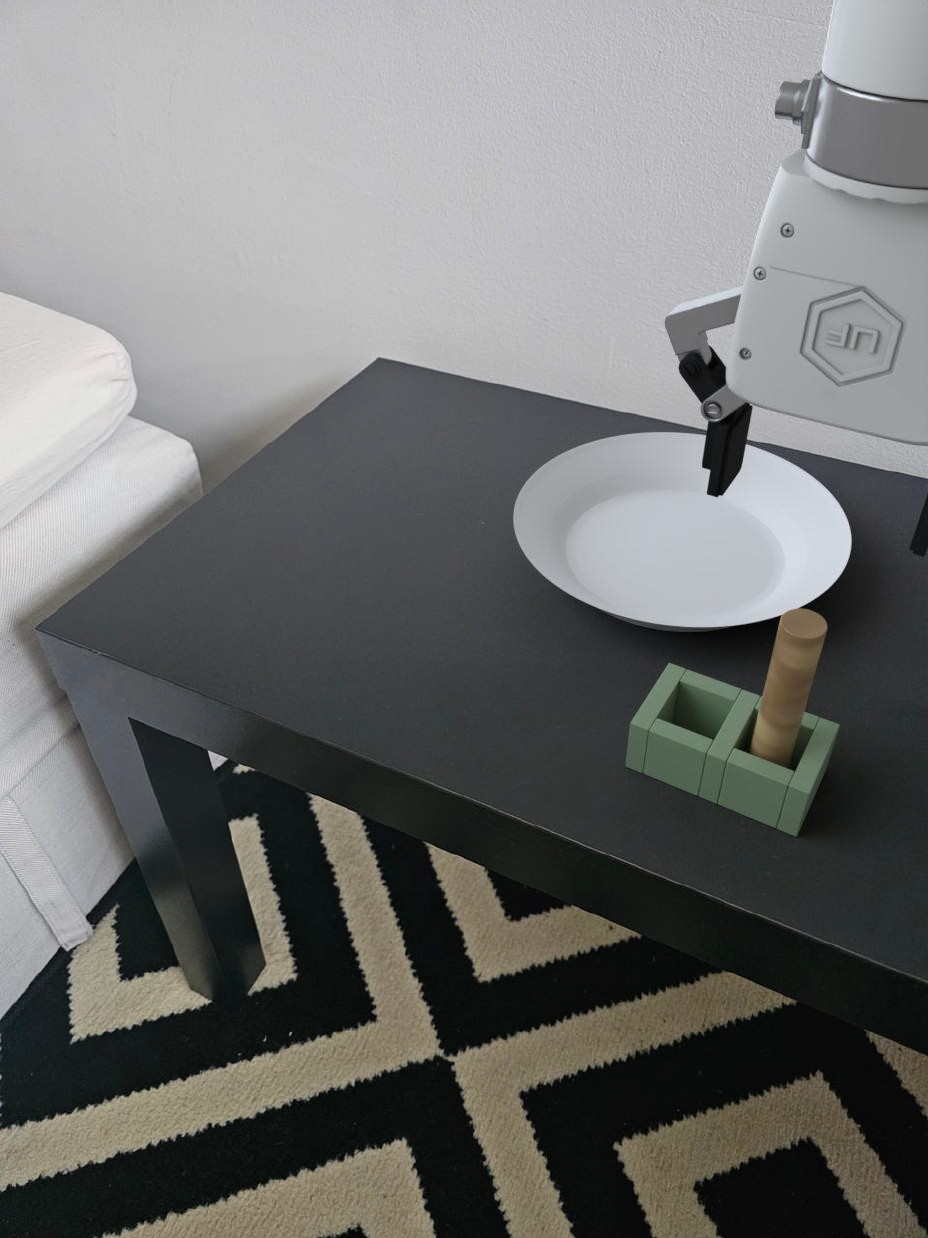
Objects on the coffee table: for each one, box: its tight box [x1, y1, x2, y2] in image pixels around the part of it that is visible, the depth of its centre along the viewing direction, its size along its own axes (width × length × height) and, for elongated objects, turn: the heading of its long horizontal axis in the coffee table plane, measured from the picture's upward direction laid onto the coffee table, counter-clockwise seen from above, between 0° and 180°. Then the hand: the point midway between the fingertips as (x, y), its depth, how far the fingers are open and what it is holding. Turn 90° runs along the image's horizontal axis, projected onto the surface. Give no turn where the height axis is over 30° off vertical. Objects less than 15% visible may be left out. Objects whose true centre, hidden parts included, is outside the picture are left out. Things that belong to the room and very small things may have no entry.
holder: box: [625, 662, 841, 838], centre depth 61 cm, size 11×6×4 cm, turn 59°
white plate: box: [512, 431, 852, 633], centre depth 77 cm, size 25×25×4 cm
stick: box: [749, 608, 828, 769], centre depth 57 cm, size 2×2×13 cm
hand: (819, 510), depth 48 cm, fingers open, 9 cm apart
